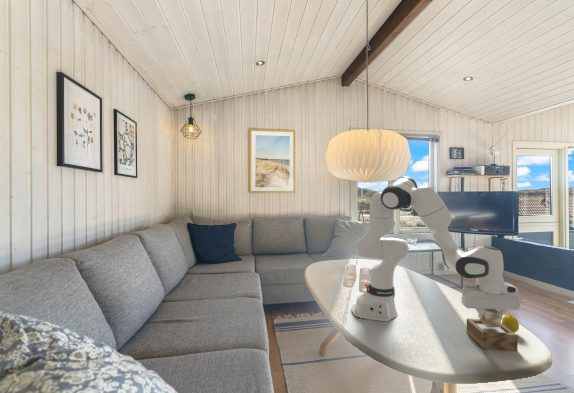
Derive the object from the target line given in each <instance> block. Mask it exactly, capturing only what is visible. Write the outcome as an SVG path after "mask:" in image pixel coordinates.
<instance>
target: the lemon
mask: <svg viewBox="0 0 574 393" xmlns="http://www.w3.org/2000/svg"><path fill="white" fill-rule="evenodd" d="M501 323H502V324H503V325H505V326H506V327H507V328H509V329H510V330H511V331H513V332H514V333H516V332H518V331H519V330H520V323H519V321H518V319H517V318H516V317H515V316H514V315H512V314H505V315H503V316H502V320H501Z"/></svg>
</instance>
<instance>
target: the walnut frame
mask: <svg viewBox="0 0 574 393" xmlns="http://www.w3.org/2000/svg"><path fill="white" fill-rule="evenodd" d="M466 334H467V335H469V336H470V337H471V339H472V340H474V342H475V343H477V344H478V345H479V347H480V348H482V349H483V350H489V351H490V350H493V351H508V352H509V351H510V352H511V351H512V352H518V334H516V332H513V331H511V330H510V329H509V328H507V327H506V326H505V325H503V324H502V322H501V327H487V326H486V325H484V324H483V323H482V322H481V321H480V318H466Z"/></svg>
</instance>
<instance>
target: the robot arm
mask: <svg viewBox="0 0 574 393" xmlns="http://www.w3.org/2000/svg"><path fill="white" fill-rule="evenodd" d="M409 207H412V208H413V209H414V210H415V212H416V213H417V215H418V217H419V219H420V220H421V222H422V223H423V224H424V225H425V227H426V228H427V229H428V231H429V232H430V233H431V235H433V237H434V239H435V241H436V242H437V245H438V246H439V248H440V250H441V256H442V261H443V264H444V265H445V266H446V268H448V269H450V270H452V271H453V272H455V273H456V274H458V276H460V277H462V278H464V279H476V284H465V286H464V285H463V287H462V288H461V293H462V295H461V304H462V306H464V307H465V308H467V309H475V311H476V312H477V313H478V319H485V318H484V317H485V315H484V314H483V313H481V312H480V311H482V309H496V310H498V311H499V312H501V321H502V319H503V317H504V316H505V313H506V310H508V311H509V310H511V311H518V310H520V308H521V298H520V295H519V288H518V287H516V286H515V285H513V284H511V283H509V282H507V281H505V280H504V279H505V278H504V277H503V272H504V270H505V269H504V266H505V265H504V256H503V254H502V251H501V250H500V249H499V248H497V247H494V246H490V245H486V244H480V245H479V244H478V246H476V247H475V248H474V249H472V250H469V251H465V250H463V249H461V248H460V247H459V246H458V245H457V244H456V242H455V240H454V239H453V237H452V235H451V233H450V231H449V226H450V225H451V224H452V219H453V218H452V215H451V213H450V211H449V208H448V207H447V204H445V202H444V200H443V199H442V197H441V196H440V195H439V193H437V191H435V189H433V187H431V186H429V185H422V186H419V187H418V184H417V182H416V180H415V179H413V178H412V177H409V176H401V177H399V178H397V179H396V180H393V181H392V182H391V183H390V184H389V185H387V187H385V188H383V190H382V191H377V192H375V193H374V194H372V196H371V199H370V204H369V220H368V222H369V223H368V228H367V231H366V232H365V234H364V235H362V236H361V237H360V238H358V239H357V240H356V241H355V244H354V250H355V253H356V255H358V257H360V258H364V259H369V260H382V261H381V262H380V263H378V264H376V265H374V266H373V267H372V268H371V269H370V270H369V271H370V283H367V282H366V283H365V284H364V286H365V288H366V291H365V292H364V293H362V294H360V295H359V296H357V298H356V302H355V304H352V306H351V313H352V312H353V313H352V314H354V315H355V316H357V317H360V318H359V319H362V318H365V319H364V320H371V321H378V322H390V321H391V320H392V319H396V317H398V311H397V308H396V302H395V298H396V297H395V296H396V294H395V293H396V291H395V290H396V289H395V286H394V276H395V275H394V274H395V270H396V267H397V266H398V264H399V263H400V262H401V261H403V260H404V259H406V258H407V256H408V255H409V249H410V248H409V245H408V243H407V242H406V241H405V240H404V239H402V238H398V237H384V236H386V235H387V234H390V233H391V232H392V231H393V229H394V217H395V216H394V215H395V214H394V210H401V209H408V208H409ZM354 315H353V316H354ZM355 316H354V317H355ZM357 317H356V318H357Z"/></svg>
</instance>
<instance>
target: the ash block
mask: <svg viewBox="0 0 574 393" xmlns="http://www.w3.org/2000/svg"><path fill="white" fill-rule="evenodd" d="M480 312H481V313H483V314H484V315H485V317H484V318H485V319H480V318H479V319H480V321H481V322H482V323H483V324H484V325H486V326H487V327H501V323H502V320H501V312H499V309H482V311H480Z"/></svg>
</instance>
